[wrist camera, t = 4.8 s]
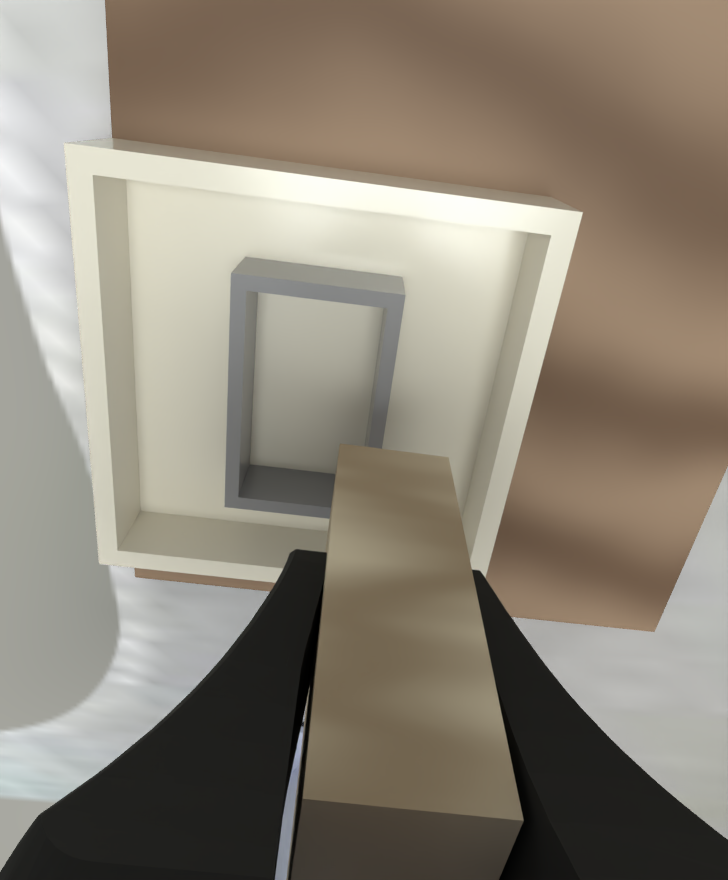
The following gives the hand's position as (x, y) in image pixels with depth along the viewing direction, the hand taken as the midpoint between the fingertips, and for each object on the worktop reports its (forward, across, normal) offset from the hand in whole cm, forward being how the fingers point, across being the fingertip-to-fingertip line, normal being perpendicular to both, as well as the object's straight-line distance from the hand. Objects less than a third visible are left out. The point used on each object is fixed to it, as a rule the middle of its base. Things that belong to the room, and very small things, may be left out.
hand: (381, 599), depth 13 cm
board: (+10, -2, -2) cm, 10 cm away
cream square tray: (+10, +2, -1) cm, 10 cm away
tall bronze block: (+3, 0, 0) cm, 3 cm away
